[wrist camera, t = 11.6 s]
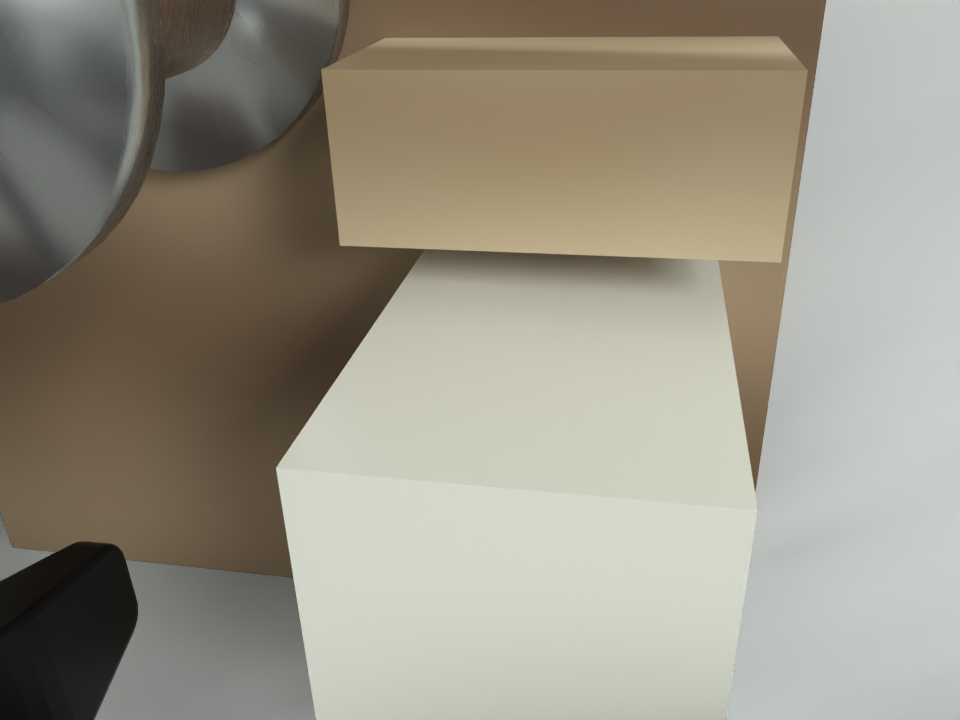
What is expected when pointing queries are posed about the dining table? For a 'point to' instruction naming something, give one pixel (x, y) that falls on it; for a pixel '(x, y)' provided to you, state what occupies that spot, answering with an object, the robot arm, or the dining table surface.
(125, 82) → the bobbin
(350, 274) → the board
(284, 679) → the dining table surface
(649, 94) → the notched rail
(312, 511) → the white block
